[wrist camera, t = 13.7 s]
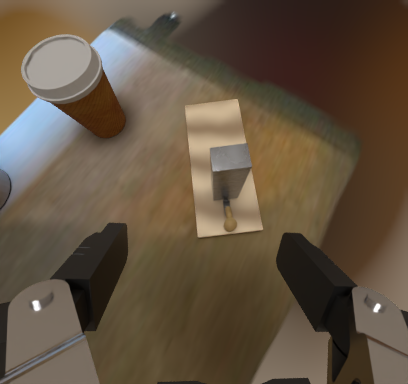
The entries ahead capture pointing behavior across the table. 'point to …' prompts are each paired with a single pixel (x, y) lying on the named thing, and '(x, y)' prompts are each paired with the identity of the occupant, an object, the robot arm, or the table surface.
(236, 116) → the rail
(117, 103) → the disposable coffee cup
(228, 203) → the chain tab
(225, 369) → the table surface
